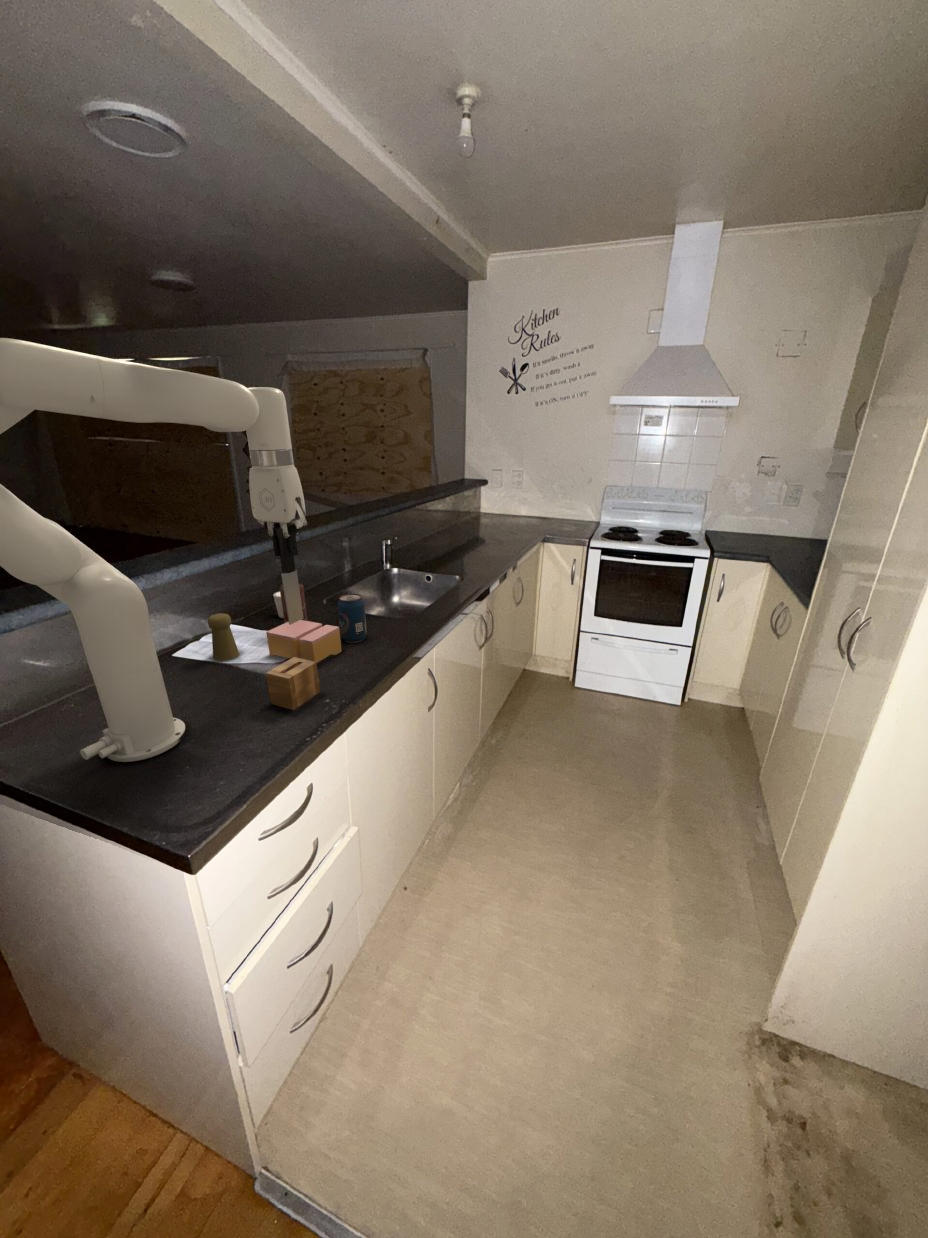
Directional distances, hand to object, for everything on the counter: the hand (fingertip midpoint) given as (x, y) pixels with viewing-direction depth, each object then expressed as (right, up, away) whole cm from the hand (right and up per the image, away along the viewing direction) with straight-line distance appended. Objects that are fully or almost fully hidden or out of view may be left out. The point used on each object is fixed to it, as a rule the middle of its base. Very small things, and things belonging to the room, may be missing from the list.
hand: (286, 554), depth 98 cm
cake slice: (+1, -23, +23) cm, 32 cm away
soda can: (+6, -19, +34) cm, 39 cm away
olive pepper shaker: (-24, -23, +24) cm, 41 cm away
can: (-11, -17, +39) cm, 44 cm away
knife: (0, -14, +5) cm, 15 cm away
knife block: (+1, -30, +3) cm, 30 cm away
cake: (-7, -22, +26) cm, 34 cm away
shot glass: (-18, -12, +51) cm, 56 cm away
